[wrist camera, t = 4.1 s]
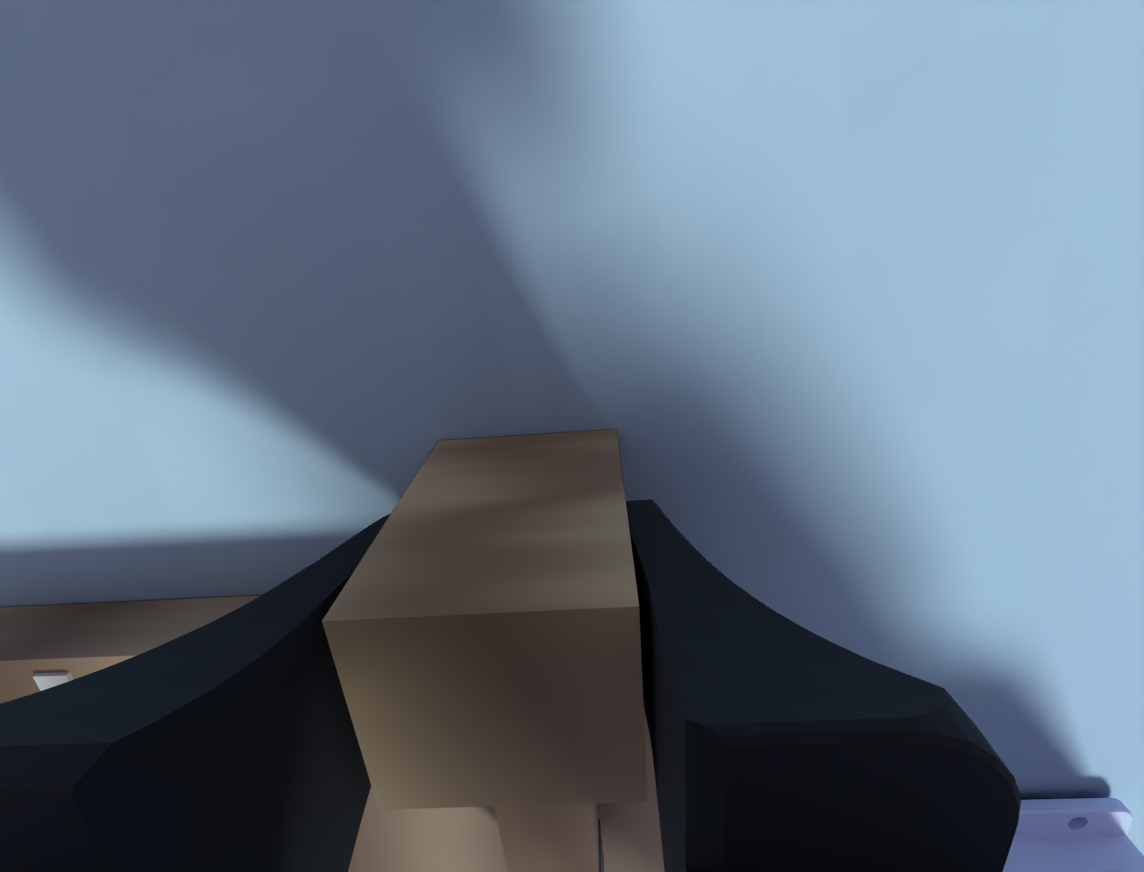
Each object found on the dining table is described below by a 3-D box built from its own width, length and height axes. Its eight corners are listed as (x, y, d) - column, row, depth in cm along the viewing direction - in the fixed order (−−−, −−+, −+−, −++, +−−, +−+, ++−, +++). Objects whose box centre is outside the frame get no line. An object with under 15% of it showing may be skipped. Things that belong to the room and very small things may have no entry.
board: (678, 576, 14) (693, 636, 12) (679, 800, 17) (692, 877, 15) (-13, 607, 15) (-104, 667, 13) (103, 814, 18) (43, 889, 16)
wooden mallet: (616, 428, 13) (639, 606, 7) (634, 767, 16) (658, 1054, 11) (438, 440, 13) (321, 621, 7) (497, 771, 17) (452, 1055, 11)
